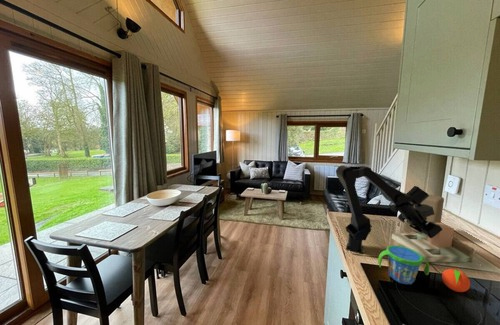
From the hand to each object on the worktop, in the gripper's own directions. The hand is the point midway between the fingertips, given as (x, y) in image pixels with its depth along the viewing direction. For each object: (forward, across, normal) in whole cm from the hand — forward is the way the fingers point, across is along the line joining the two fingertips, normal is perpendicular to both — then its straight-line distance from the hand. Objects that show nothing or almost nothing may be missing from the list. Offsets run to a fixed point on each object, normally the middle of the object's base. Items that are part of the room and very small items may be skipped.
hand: (429, 235), depth 97 cm
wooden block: (+14, +17, -4) cm, 23 cm away
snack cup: (-14, -20, +24) cm, 34 cm away
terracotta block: (+7, 0, 0) cm, 7 cm away
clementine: (-4, -26, +14) cm, 29 cm away
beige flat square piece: (+5, 0, +5) cm, 7 cm away
